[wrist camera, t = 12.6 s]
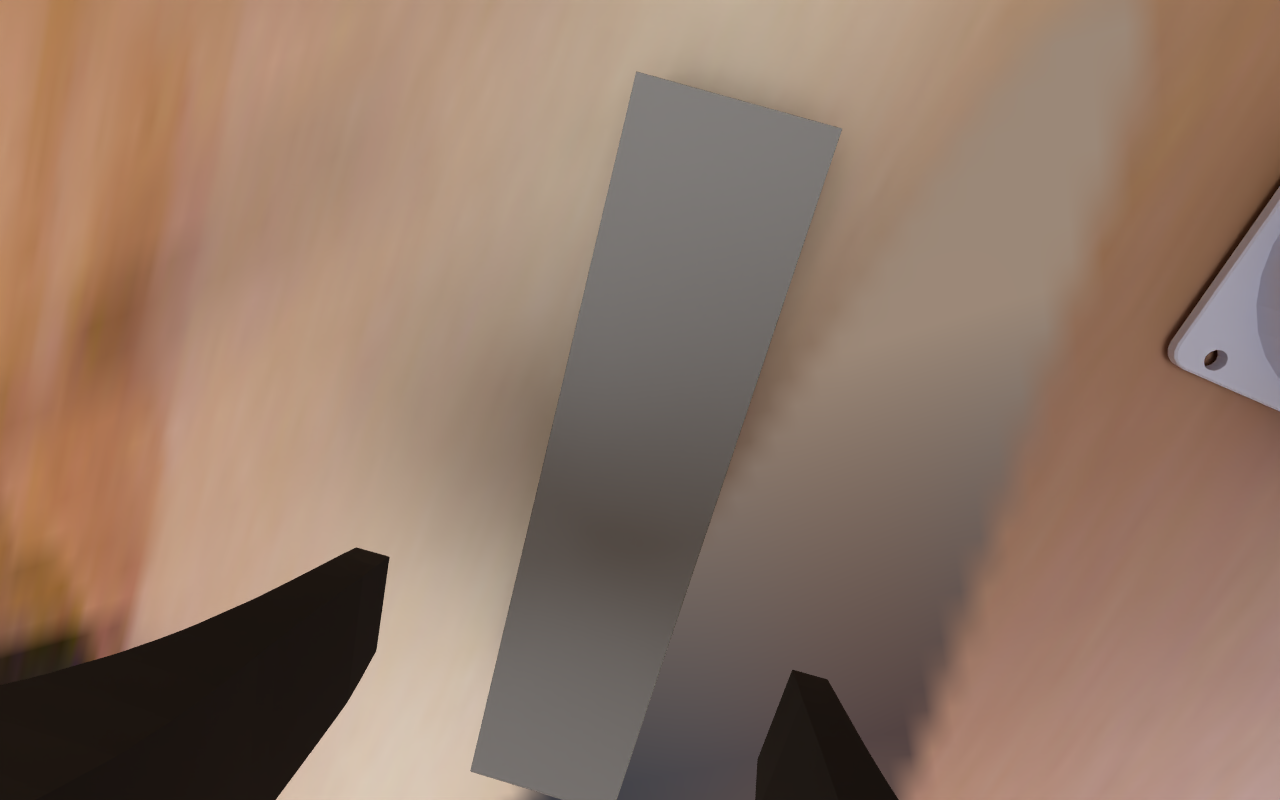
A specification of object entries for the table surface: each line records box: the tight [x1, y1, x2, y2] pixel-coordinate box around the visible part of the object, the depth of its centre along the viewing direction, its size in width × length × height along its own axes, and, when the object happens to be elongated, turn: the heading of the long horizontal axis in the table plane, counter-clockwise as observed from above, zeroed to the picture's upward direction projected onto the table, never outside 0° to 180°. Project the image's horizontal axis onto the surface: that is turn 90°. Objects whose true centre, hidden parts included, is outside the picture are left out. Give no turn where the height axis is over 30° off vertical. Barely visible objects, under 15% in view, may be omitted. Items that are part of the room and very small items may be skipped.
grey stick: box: [471, 72, 842, 800], centre depth 19 cm, size 4×18×5 cm, turn 165°
